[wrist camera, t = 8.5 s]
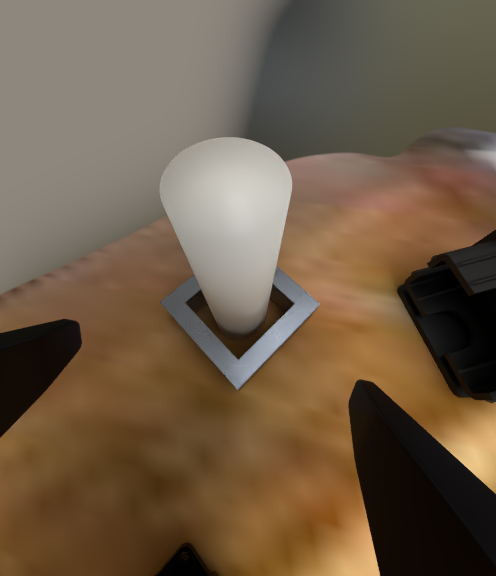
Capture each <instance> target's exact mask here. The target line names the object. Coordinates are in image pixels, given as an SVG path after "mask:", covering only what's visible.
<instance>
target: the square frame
mask: <svg viewBox="0 0 496 576" xmlns="http://www.w3.org/2000/svg"><path fill="white" fill-rule="evenodd" d="M270 299H271V300H272V301H273V302H274V303H275V304H276V305H277V306H278V307H280V308H281V309H282V310H283V311H284V312H285V314H284V315H283V316H282V317H281V318H280V319H279V320H278V321H277V322H276V323H275V324H274V325H273V326H272V327H271V328H270V329H269V330H268V331H267V332H266V333H265V334H264V335H263V336H262V337H261V338H260V339H259V340H258V341H257V342H256V343H255V344H254V345H253V346H252V347H251V348H250V349H249V350H248V351H247V352H246V353H245V354H244V355H243V356H242V357H241V358H240V359H239V360H238V359H237V358H236V357H235V356H234V355H233V354H232V353H231V352H230V351H229V350H228V349H227V347H226V346H225V345H224V344H223V343H222V342H221V341H220V340H219V339H218V338H217V337H216V336H215V335H214V333H213V332H212V331H211V330H210V329H209V328H208V327H207V326H206V325H205V324H204V323H203V322H202V321H201V319H200V318H199V317H198V316H197V315H196V314H195V313H196V312H198V311H199V310H200V309H201V308H202V307H203V306H205V305H206V304H207V301H206V299H205V297H204V295H203V292H202V290H201V288H200V286H199V284H198V281H197V279H196V277H195V275H193V276H192V277H190V278H189V279H188V280H187V281H185V282H184V283H183V284H182V285H181V286H179V287H178V288H177V289H176V290H174V291H173V292H172V293H171V294H169V295H168V296H167V297H166V298H164V299H163V300H162V301H161V302H160V303H161V304H162V305H163V306H164V307H165V309H166V310H167V311H168V312H169V313H170V314H171V315H172V316H173V318H174V319H175V320H176V321H177V322H178V323H179V324H180V326H181V327H182V328H183V329H184V330H185V331H186V332H187V333H188V335H189V336H190V337H191V338H192V339H193V340H194V341H195V342H196V344H197V345H198V346H199V347H200V348H201V349H202V350H203V351H204V353H205V354H206V355H207V356H208V357H209V358H210V359H211V361H212V362H213V363H214V364H215V365H216V366H217V367H218V368H219V370H220V371H221V372H222V373H223V374H224V375H225V376H226V377H227V379H228V380H229V381H230V382H231V383H232V384H233V385H234V386H235V388H236V389H237V390H240V389H241V388H242V387H243V386H244V385H245V384H246V383H247V382H248V381H249V380H250V379H251V378H252V377H253V376H254V375H255V374H256V373H257V372H258V371H259V370H260V369H261V368H262V367H263V365H264V364H265V363H266V362H267V361H268V360H269V359H270V358H271V357H272V356H273V355H274V354H275V353H276V352H277V351H278V350H279V349H280V348H281V347H282V346H283V345H284V344H285V343H286V342H287V341H288V340H289V339H290V338H291V336H292V335H293V334H294V333H295V332H296V331H297V330H298V329H299V328H300V327H301V326H302V325H303V324H304V323H305V322H306V321H307V320H308V319H309V318H310V317H311V316H312V314H313V313H314V312H315V310H316V309H317V308H318V306H319V305H320V303H318V302H317V301H316V300H315V299H314V298H313V297H312V296H310V295H309V294H308V293H307V292H306V291H305V290H303V289H302V288H301V287H300V286H299V285H298V284H297V283H295V282H294V281H293V280H292V279H291V278H290V277H289V276H287V275H286V274H285V273H284V272H283V271H282V270H280V269H279V268H278V267H277V266H276V269H275V274H274V279H273V284H272V289H271V294H270Z"/></svg>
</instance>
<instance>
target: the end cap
mask: <svg viewBox="0 0 496 576" xmlns="http://www.w3.org/2000/svg"><path fill="white" fill-rule="evenodd" d="M427 264H428V266H429V267H428V268H425V269H421V270H417V271H413V272H412V274H411V276H410V277H408V278H407V279H406V281H405V284H403V285H401V286H400V287H399V288H398V290H397V291H398V294H399V296H400V298H401V300H402V302H403V303H404V305H405V307H406V309H407V311H408V313H409V314H410V316H411V318H412V320H413V322H414V323H415V325H416V327H417V329H418V331H419V333H420V334H421V336H422V338H423V340H424V342H425V343H426V345H427V347H428V349H429V351H430V353H431V354H432V356H433V358H434V360H435V362H436V363H437V365H438V367H439V369H440V371H441V373H442V374H443V376H444V378H445V380H446V382H447V384H448V385H449V387H450V389H451V391H452V392H453V393H454V394H455V395H456V396H458V397H471V398H473V399H475V400H485V401H487V402H489V403H493V402H496V230H495V231H493V232H492V233H490V234H489V235H487V236H486V237H484V238H483V239H481V240H480V241H478V242H477V243H475V244H474V245H472V246H470V247H466V248H462V249H458V250H455V251H451V252H447V253H443V254H440V255H436V256H433V257H432V259H431V261H430V262H429V263H427Z"/></svg>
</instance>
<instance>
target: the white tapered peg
mask: <svg viewBox="0 0 496 576" xmlns="http://www.w3.org/2000/svg"><path fill="white" fill-rule="evenodd" d="M291 192H292V180H291V175H290V172H289V170H288V168H287V166H286V164H285V163H284V161H283V160H282V159H281V158H280V157H279V156H278V155H277V154H276V153H275V152H274V151H273V150H271V149H269V148H268V147H266V146H264V145H262V144H260V143H257V142H255V141H252V140H248V139H242V138H233V137H224V138H223V137H222V138H214V139H209V140H205V141H202V142H199V143H197V144H194V145H192V146H190V147H188V148H186V149H185V150H183V151H182V152H180V153H179V154H178V155H177V156H176V157H174V158H173V159H172V161H171V162H170V163H169V164H168V166H167V167H166V169H165V171H164V173H163V175H162V178H161V182H160V196H161V201H162V204H163V206H164V208H165V211H166V213H167V215H168V217H169V219H170V222H171V224H172V226H173V228H174V230H175V233H176V235H177V237H178V239H179V241H180V244H181V246H182V248H183V250H184V253H185V255H186V257H187V259H188V261H189V264H190V266H191V268H192V270H193V272H194V275H195V277H196V279H197V281H198V284H199V286H200V288H201V290H202V292H203V295H204V297H205V299H206V301H207V303H208V306H209V308H210V310H211V312H212V314H213V317H214V319H215V321H216V323H217V326H218V328H219V329H220V331H221V332H222V333H223V334H224V335H225V336H226V337H228V338H230V339H232V340H236V341H245V340H249V339H251V338H253V337H255V336H256V335H257V334H258V333H259V332H260V331H261V330H262V328H263V326H264V323H265V318H266V313H267V308H268V303H269V298H270V294H271V289H272V284H273V279H274V274H275V269H276V264H277V260H278V255H279V250H280V245H281V240H282V235H283V230H284V226H285V221H286V216H287V211H288V206H289V201H290V197H291Z"/></svg>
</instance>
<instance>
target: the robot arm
mask: <svg viewBox="0 0 496 576" xmlns="http://www.w3.org/2000/svg"><path fill="white" fill-rule="evenodd" d="M81 344H82V340H81V332H80V325H79V323H78V322H77V321H73V320H68V319H61V320H57V321H53V322H48V323H44V324H39V325H35V326H30V327H26V328H21V329H17V330H13V331H8V332H4V333H0V437H1V436H2V435H3V434H4V433H5V432H6V431H7V430H8V429H9V428H10V427H11V426H12V425H13V424H14V423H15V422H16V421H17V420H18V419H19V418H20V417H21V416H22V415H23V414H24V413H25V412H26V411H27V410H28V409H29V408H30V406H31V405H32V404H33V403H34V402H35V401H36V400H37V399H38V398H39V397H40V396H41V395H42V394H43V393H44V392H45V391H46V390H47V389H48V387H49V386H50V385H51V384H52V383H53V381H54V380H55V379H56V378H57V377H58V375H59V374H60V373H61V372H62V370H63V369H64V368H65V367H66V366H67V364H68V363H69V362H70V361H71V359H72V358H73V357H74V356H75V354H76V353H77V352H78V351H79V349H80V347H81ZM349 416H350V424H351V433H352V442H353V450H354V458H355V463H356V469H357V473H358V478H359V482H360V487H361V491H362V496H363V500H364V505H365V509H366V514H367V518H368V523H369V527H370V532H371V536H372V541H373V545H374V550H375V554H376V558H377V563H378V567H379V572H380V576H496V494H495V493H494V492H493V491H492V490H491V489H489V488H488V487H487V486H486V485H485V484H484V483H483V482H482V481H481V480H480V479H479V478H477V477H476V476H475V475H474V474H473V473H472V472H471V471H470V470H469V469H468V468H466V467H465V466H464V465H463V464H462V463H461V462H460V461H459V460H458V459H457V458H455V457H454V456H453V455H452V454H451V453H450V452H449V451H448V450H447V449H446V448H445V447H443V446H442V445H441V444H440V443H439V442H438V441H437V440H436V439H435V438H434V437H432V436H431V435H430V434H429V433H428V432H427V431H426V430H425V429H424V428H423V427H421V426H420V425H419V424H418V423H417V422H416V421H415V420H414V419H413V418H412V417H411V416H409V415H408V414H407V413H406V412H405V411H404V410H403V409H402V408H401V407H400V406H398V405H397V404H396V403H395V402H394V401H393V400H392V399H391V398H390V397H389V396H387V395H386V394H385V393H384V392H383V391H382V390H381V389H380V388H379V387H378V386H377V385H375V384H374V383H373V382H371V381H366V380H361V379H360V380H357V382H356V383H355V386H354V389H353V391H352V394H351V397H350V399H349ZM183 552H187V553H188V555H189V559H187V560H184V559H183V558H182V553H183ZM155 576H218V574H217V573H216V572H215V571H209V569H208V568H207V566H206V565H205V563H204V562H203V560H202V559H201V557H200V556H199V554H198V553H197V551H196V550H195V548H194V547H193V546H192V545H191V544H190V543H184V544H182V545H181V546H180V547H179V548H178V550H177V551H176V552H175V553H174V554H173V555H172V557H171V558H170V559H169V560H168V561H167V562H166V564H165V565H164V566H163V567H162V568H161V569H160V571H159V572H158V573H157V574H156V575H155Z"/></svg>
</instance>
